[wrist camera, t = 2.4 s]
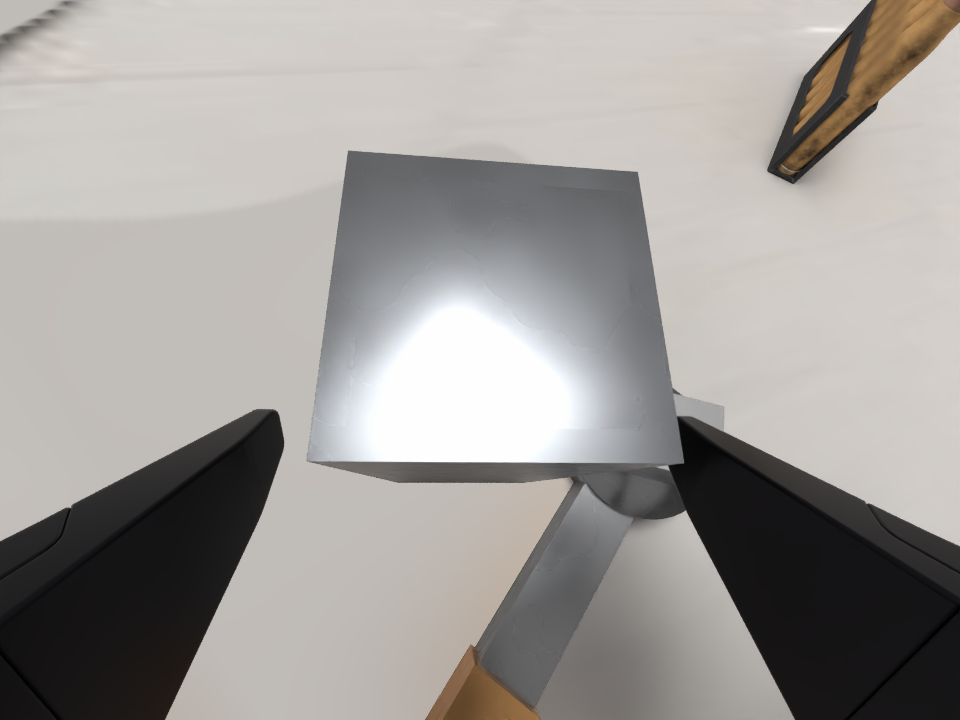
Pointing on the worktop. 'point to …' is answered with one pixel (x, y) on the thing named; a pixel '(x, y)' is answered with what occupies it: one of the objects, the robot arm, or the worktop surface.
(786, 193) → the worktop surface
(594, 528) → the ratchet
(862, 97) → the ammunition clip
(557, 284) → the grey metal square prism
